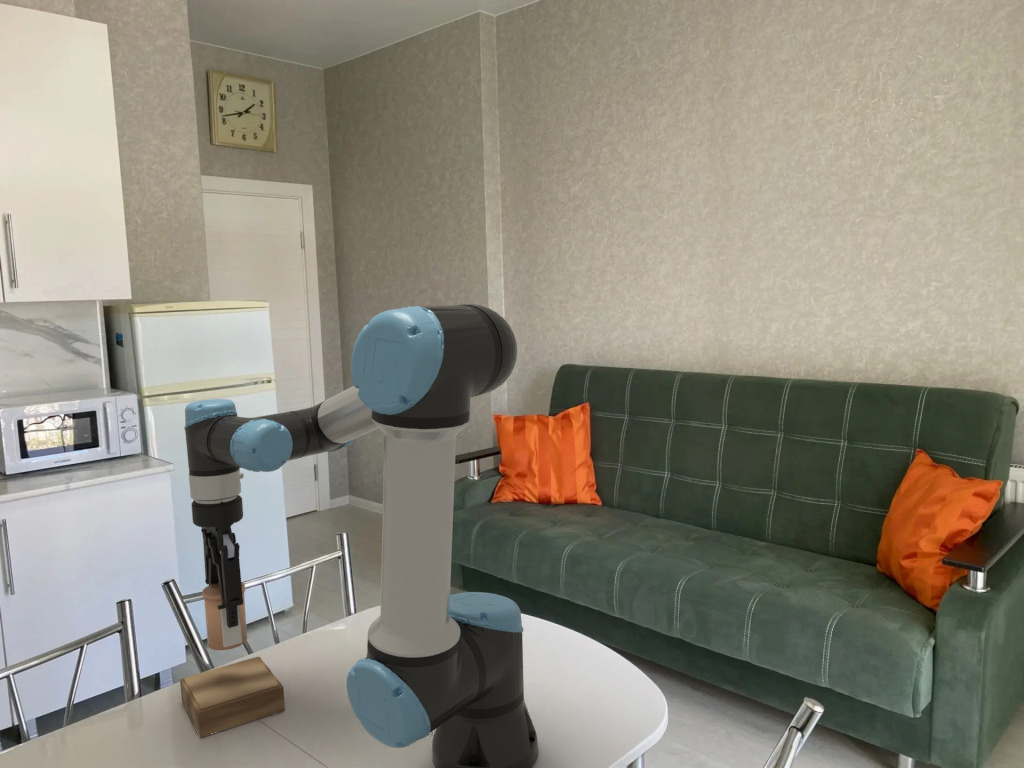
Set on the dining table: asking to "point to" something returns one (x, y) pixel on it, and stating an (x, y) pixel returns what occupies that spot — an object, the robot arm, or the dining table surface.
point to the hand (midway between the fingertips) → (227, 636)
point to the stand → (231, 695)
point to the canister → (214, 617)
